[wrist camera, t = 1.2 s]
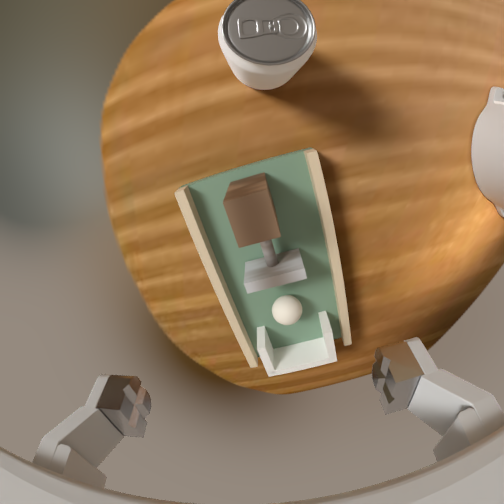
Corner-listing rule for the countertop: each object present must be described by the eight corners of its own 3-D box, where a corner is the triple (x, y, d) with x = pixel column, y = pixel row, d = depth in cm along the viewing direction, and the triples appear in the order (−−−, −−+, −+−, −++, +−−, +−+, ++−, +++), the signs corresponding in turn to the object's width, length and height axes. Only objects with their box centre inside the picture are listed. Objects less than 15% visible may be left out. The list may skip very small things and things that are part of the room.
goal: (325, 310, 35) (332, 331, 31) (331, 340, 37) (337, 360, 34) (257, 327, 36) (256, 349, 33) (268, 355, 39) (268, 376, 35)
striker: (276, 168, 27) (283, 184, 21) (300, 257, 32) (311, 293, 25) (218, 185, 28) (207, 207, 22) (248, 271, 32) (246, 309, 26)
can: (299, 89, 25) (328, 71, 14) (233, 93, 25) (218, 77, 14) (292, 31, 22) (315, -16, 11) (227, 36, 22) (210, -11, 12)
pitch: (310, 147, 28) (317, 150, 25) (346, 329, 38) (351, 344, 35) (181, 185, 30) (174, 193, 27) (251, 352, 40) (250, 367, 37)
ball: (296, 286, 33) (300, 303, 30) (302, 308, 35) (306, 327, 32) (268, 293, 34) (269, 311, 31) (275, 315, 35) (276, 334, 32)
